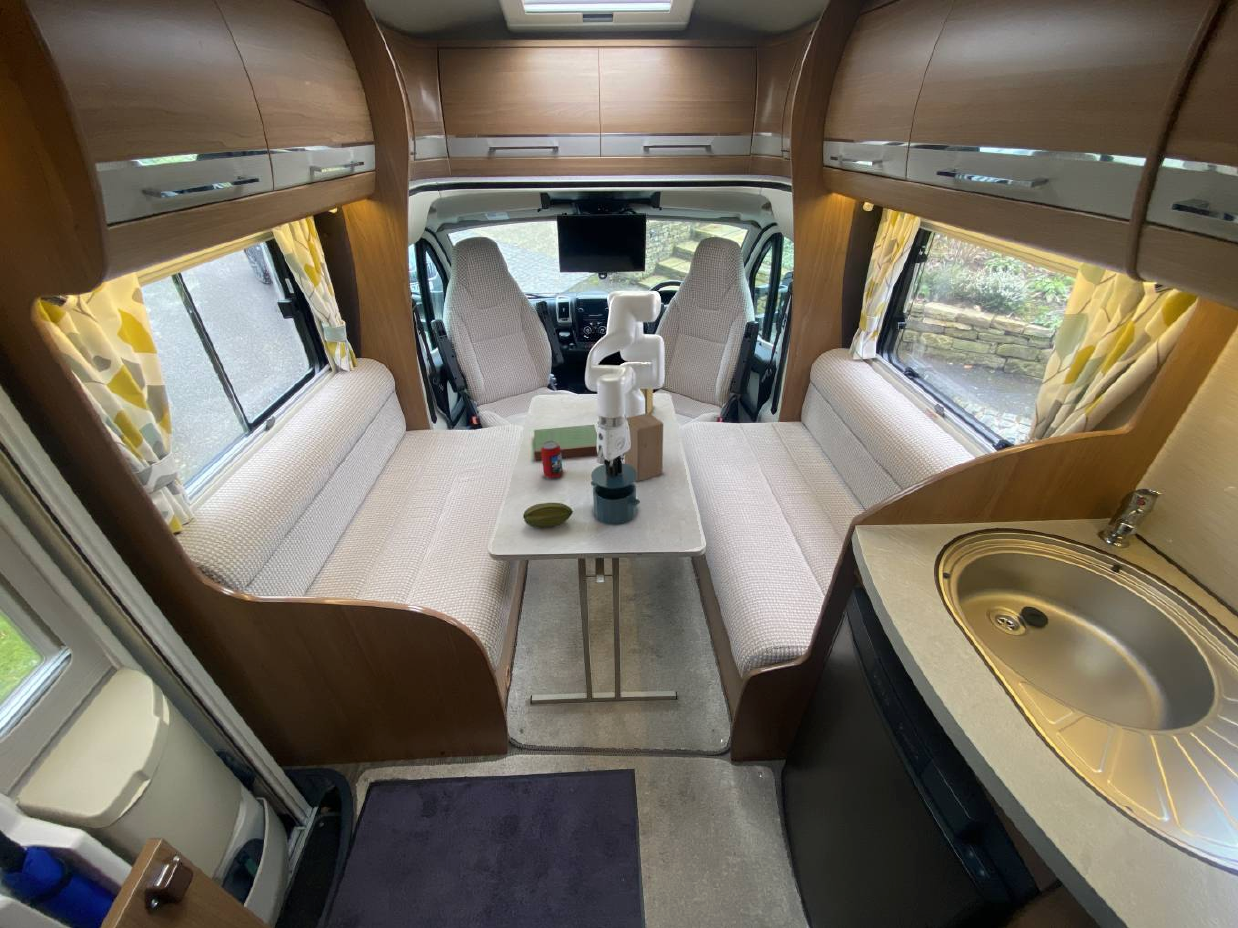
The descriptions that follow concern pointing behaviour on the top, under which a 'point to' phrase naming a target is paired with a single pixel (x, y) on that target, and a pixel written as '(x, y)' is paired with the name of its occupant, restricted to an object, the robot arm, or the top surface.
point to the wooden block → (645, 446)
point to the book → (568, 440)
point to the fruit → (547, 514)
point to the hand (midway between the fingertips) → (614, 473)
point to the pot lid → (618, 481)
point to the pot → (615, 503)
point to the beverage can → (551, 459)
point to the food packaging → (647, 396)
